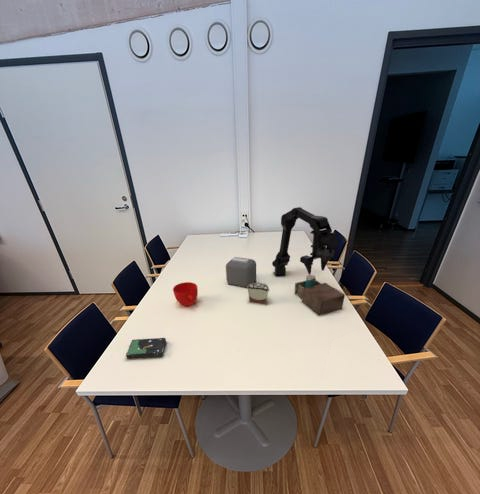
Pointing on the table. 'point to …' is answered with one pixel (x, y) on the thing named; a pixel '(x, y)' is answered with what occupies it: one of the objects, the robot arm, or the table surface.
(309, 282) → the tea tin
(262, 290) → the food container
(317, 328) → the table surface
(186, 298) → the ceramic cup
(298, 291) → the drawer
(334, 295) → the cabinet
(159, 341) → the disk drive
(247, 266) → the alarm clock
